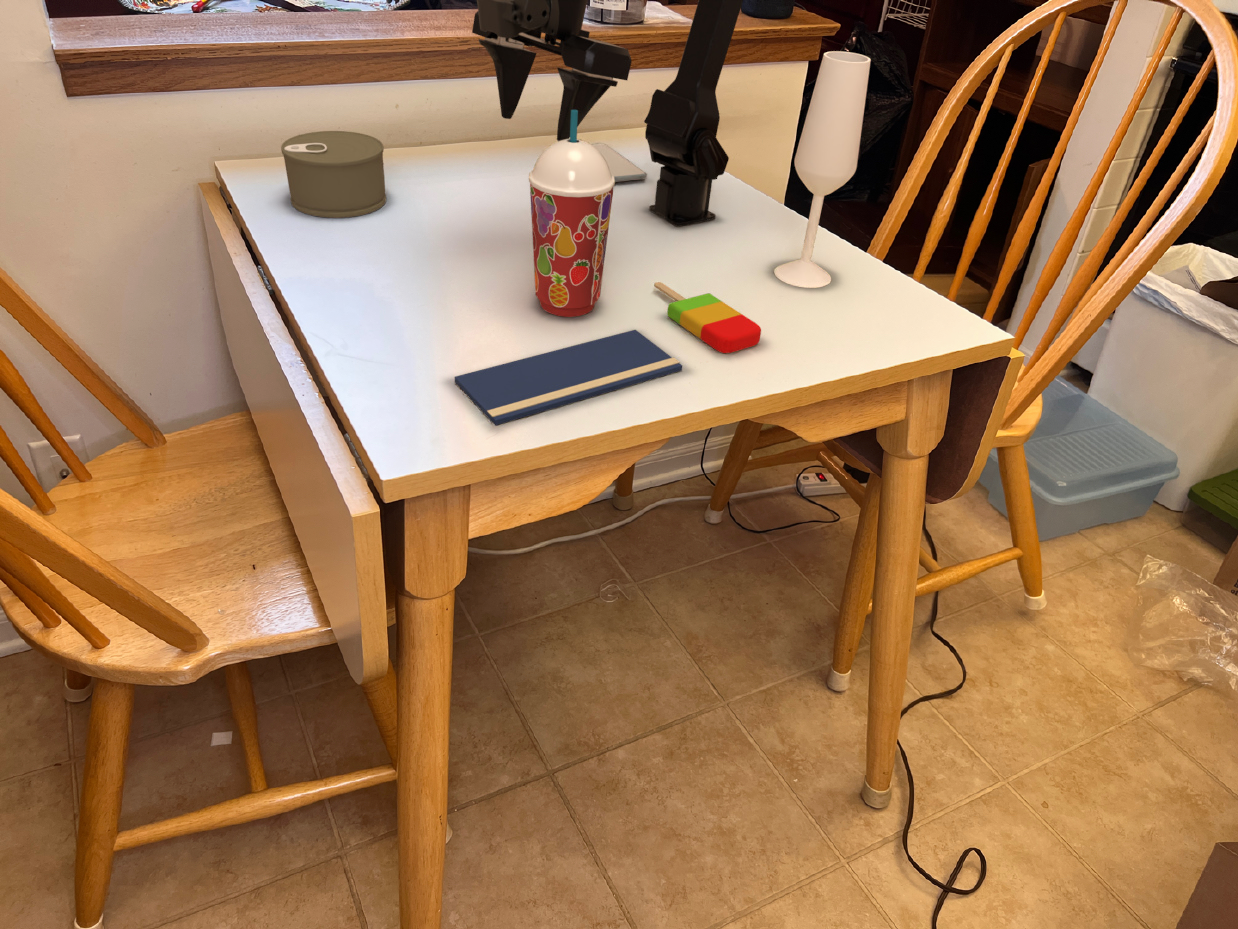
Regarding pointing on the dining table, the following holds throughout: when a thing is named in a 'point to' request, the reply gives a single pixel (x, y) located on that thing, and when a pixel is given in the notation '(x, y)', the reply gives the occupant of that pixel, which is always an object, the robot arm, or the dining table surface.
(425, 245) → the dining table surface
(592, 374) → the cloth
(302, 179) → the can
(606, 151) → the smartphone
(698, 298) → the popsicle
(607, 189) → the smoothie
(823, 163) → the champagne flute
